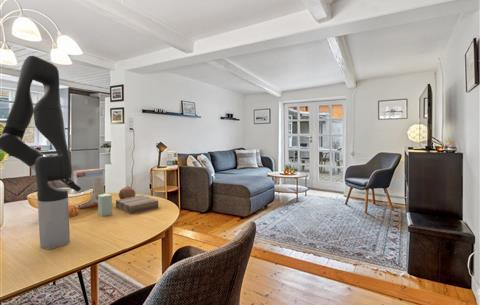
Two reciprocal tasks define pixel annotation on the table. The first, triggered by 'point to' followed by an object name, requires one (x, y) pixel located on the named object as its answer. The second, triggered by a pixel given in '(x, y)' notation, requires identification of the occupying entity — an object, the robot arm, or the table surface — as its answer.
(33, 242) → the table surface
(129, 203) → the walnut base
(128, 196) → the onion
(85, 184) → the cracker box
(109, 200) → the sage block
